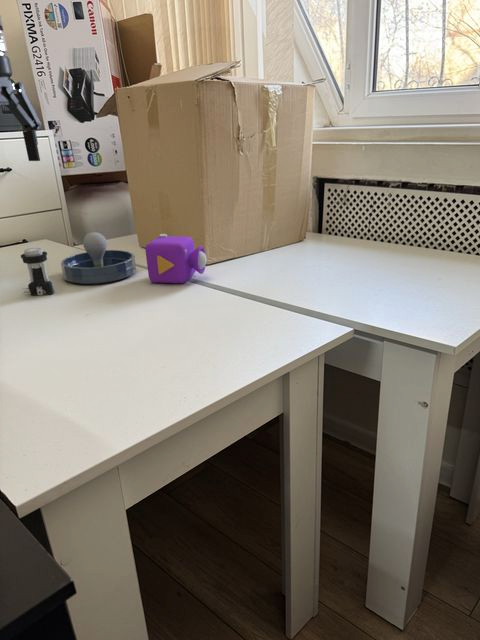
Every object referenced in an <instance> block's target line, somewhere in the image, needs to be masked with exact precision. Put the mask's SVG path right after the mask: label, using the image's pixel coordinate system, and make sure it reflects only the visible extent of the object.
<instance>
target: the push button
mask: <svg viewBox="0 0 480 640" xmlns="http://www.w3.org/2000/svg"><path fill="white" fill-rule="evenodd" d="M23 252H24V253H22V254H20V258H21V260H22V263H23V264H26V266H27V269H28V275H29V278H30V279H29V284H28V285H27V287H22V288H21V289H22V290H28V291H23V292H22V294H30V295H31V296H44V295H45V296H47V295H48V296H50V295H52V294H53V293H54V291H55V288H54V283H53V280H50V278H49V276H48V272H47V266H46V263H45V262H46V261H48V257H47V256H48V252H47V251H43V248H42V247H30V248H26V249H24V250H23Z"/></svg>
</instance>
